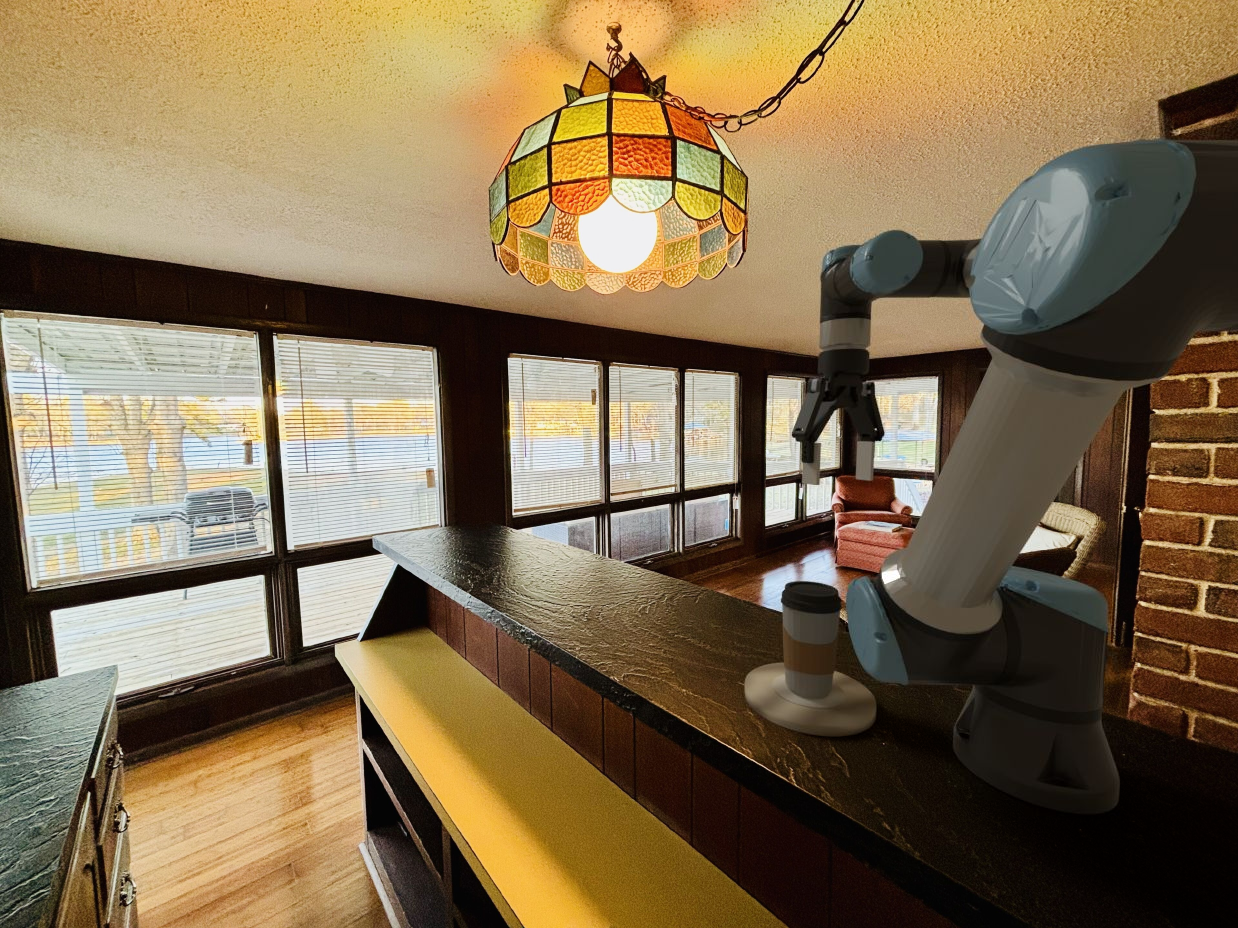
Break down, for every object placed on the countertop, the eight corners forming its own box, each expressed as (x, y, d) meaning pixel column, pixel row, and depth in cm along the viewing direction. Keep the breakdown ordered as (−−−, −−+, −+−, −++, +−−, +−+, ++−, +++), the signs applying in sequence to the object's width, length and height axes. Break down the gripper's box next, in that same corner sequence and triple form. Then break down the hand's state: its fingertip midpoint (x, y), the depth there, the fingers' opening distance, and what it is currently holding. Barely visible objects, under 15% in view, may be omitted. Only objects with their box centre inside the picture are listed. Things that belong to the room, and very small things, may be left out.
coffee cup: (844, 706, 71) (848, 599, 70) (781, 700, 72) (784, 595, 71) (832, 678, 79) (835, 581, 78) (775, 672, 80) (778, 578, 79)
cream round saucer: (904, 714, 72) (904, 702, 72) (813, 751, 64) (814, 738, 63) (803, 662, 88) (803, 653, 88) (719, 687, 79) (719, 676, 79)
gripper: (869, 358, 92) (864, 476, 94) (770, 346, 80) (766, 483, 81) (911, 353, 86) (905, 480, 87) (810, 340, 73) (805, 488, 75)
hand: (838, 482), depth 84 cm, fingers open, 13 cm apart
